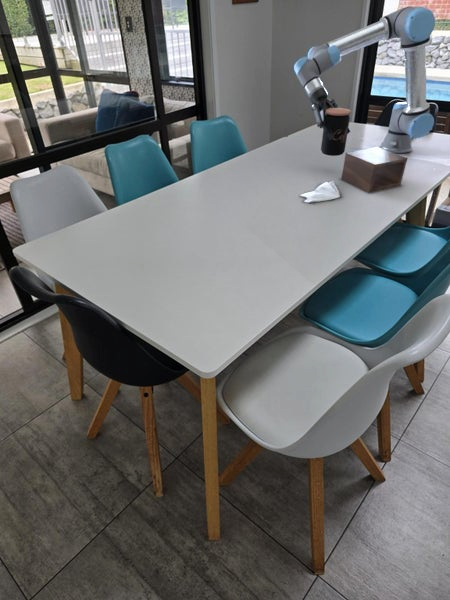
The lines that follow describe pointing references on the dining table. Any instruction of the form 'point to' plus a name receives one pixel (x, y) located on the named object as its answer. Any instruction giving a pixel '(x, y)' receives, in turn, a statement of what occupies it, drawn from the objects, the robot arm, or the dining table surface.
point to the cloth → (322, 193)
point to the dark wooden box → (373, 169)
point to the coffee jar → (336, 131)
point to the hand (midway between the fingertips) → (340, 135)
